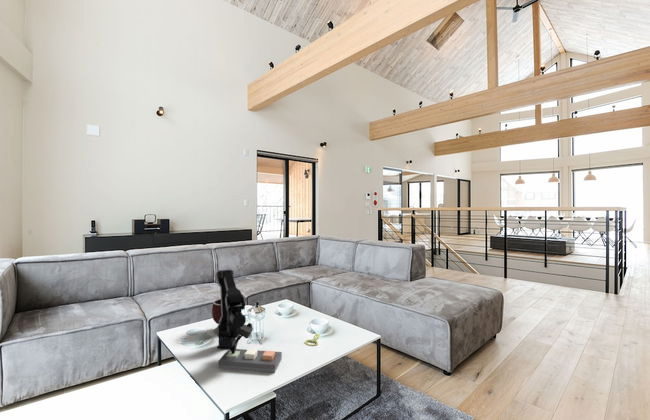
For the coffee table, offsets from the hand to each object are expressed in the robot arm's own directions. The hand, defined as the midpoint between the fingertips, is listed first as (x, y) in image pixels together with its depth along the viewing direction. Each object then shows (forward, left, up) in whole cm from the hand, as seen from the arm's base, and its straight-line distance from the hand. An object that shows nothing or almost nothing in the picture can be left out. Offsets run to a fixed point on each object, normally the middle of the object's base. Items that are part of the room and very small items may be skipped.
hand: (233, 353), depth 144 cm
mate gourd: (-19, +35, -4) cm, 40 cm away
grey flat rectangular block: (+9, 0, -4) cm, 9 cm away
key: (+34, +28, -5) cm, 44 cm away
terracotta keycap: (+17, 0, -1) cm, 17 cm away
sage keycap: (0, 0, -2) cm, 2 cm away
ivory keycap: (+9, 0, -1) cm, 9 cm away
